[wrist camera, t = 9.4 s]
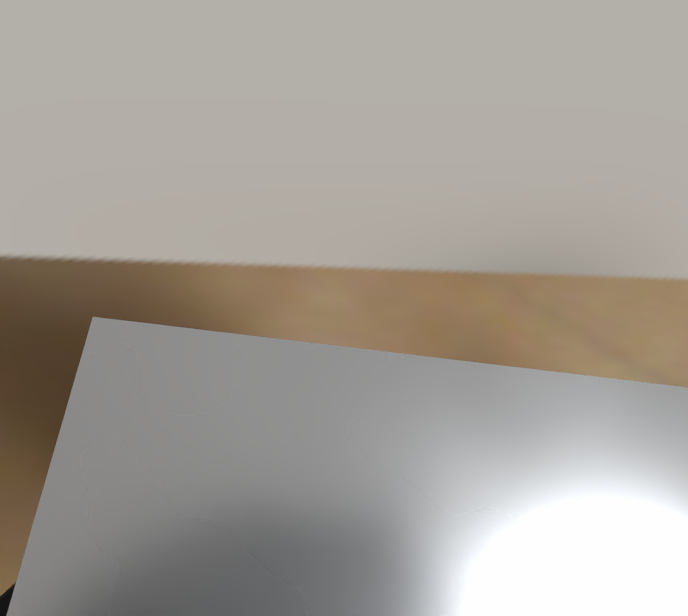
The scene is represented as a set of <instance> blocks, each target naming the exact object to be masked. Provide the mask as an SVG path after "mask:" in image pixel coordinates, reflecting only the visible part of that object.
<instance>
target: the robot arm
mask: <svg viewBox="0 0 688 616" xmlns="http://www.w3.org/2000/svg"><path fill="white" fill-rule="evenodd" d="M15 584H16V583H15ZM15 584H14V585H12V586H11V587H10V588H9V589H8V590H7V591H6V592H5V593H4V594H3V595H1V596H0V616H6V615H7V612H8V608H9V605H10V601H11V598H12V595H13V591H14V588H15Z"/></svg>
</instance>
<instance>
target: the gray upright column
mask: <svg viewBox="0 0 688 616" xmlns="http://www.w3.org/2000/svg"><path fill="white" fill-rule="evenodd" d="M6 616H688V388H687V387H678V386H670V385H662V384H653V383H645V382H636V381H628V380H620V379H611V378H603V377H594V376H586V375H578V374H569V373H561V372H552V371H544V370H536V369H527V368H519V367H510V366H502V365H494V364H485V363H477V362H469V361H460V360H452V359H443V358H435V357H427V356H418V355H410V354H401V353H393V352H385V351H376V350H368V349H359V348H351V347H343V346H334V345H326V344H317V343H309V342H301V341H292V340H284V339H275V338H267V337H259V336H250V335H242V334H233V333H225V332H217V331H208V330H200V329H192V328H183V327H175V326H166V325H158V324H150V323H141V322H133V321H124V320H116V319H108V318H99V317H93V318H92V321H91V325H90V328H89V332H88V335H87V338H86V342H85V345H84V349H83V352H82V356H81V359H80V363H79V366H78V370H77V373H76V377H75V380H74V383H73V387H72V390H71V394H70V397H69V401H68V404H67V408H66V411H65V415H64V418H63V421H62V425H61V428H60V432H59V435H58V439H57V442H56V446H55V449H54V453H53V456H52V460H51V463H50V466H49V470H48V473H47V477H46V480H45V484H44V487H43V491H42V494H41V498H40V501H39V505H38V508H37V511H36V515H35V518H34V522H33V525H32V529H31V532H30V536H29V539H28V543H27V546H26V550H25V553H24V556H23V560H22V563H21V567H20V570H19V574H18V577H17V581H16V584H15V588H14V591H13V595H12V598H11V601H10V605H9V608H8V612H7V615H6Z"/></svg>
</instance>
